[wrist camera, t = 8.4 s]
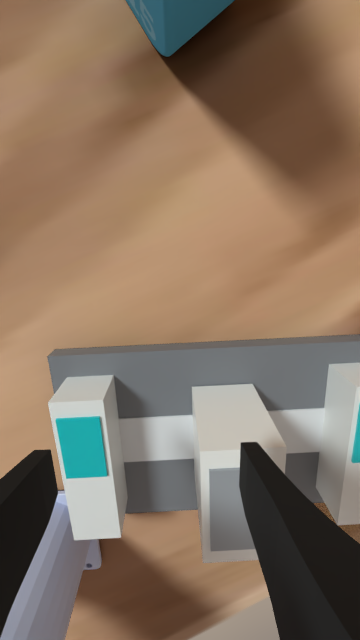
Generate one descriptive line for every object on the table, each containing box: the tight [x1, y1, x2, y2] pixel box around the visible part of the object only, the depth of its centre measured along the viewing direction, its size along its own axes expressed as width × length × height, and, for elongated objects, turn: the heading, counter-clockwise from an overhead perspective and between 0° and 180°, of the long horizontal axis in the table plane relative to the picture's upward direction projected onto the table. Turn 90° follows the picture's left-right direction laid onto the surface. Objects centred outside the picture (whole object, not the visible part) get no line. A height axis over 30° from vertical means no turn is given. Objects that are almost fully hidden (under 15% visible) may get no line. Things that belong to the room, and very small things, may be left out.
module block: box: [192, 384, 287, 563], centre depth 17 cm, size 4×7×6 cm, turn 2°
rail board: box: [47, 334, 360, 540], centre depth 19 cm, size 22×13×4 cm, turn 92°
